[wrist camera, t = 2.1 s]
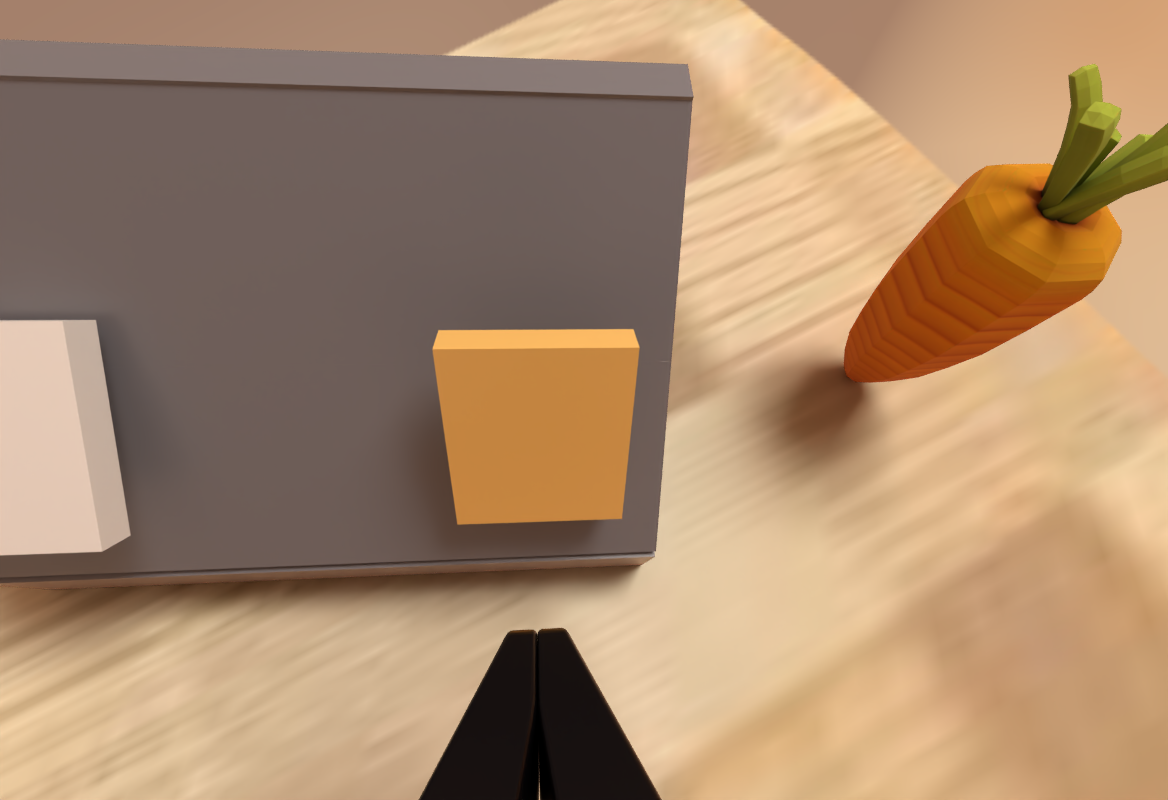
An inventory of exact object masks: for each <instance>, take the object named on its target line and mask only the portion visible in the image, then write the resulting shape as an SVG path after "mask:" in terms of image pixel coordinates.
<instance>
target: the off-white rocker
mask: <svg viewBox="0 0 1168 800" xmlns="http://www.w3.org/2000/svg"><path fill="white" fill-rule="evenodd" d="M129 536H131V534H130V528H129V522H128V516H127V510H126V503H125V497H124V491H123V485H122V479H121V472H120V466H119V460H118V454H117V448H116V442H115V435H114V429H113V423H112V417H111V411H110V404H109V398H108V392H107V386H106V380H105V373H104V367H103V361H102V355H101V349H100V343H99V336H98V330H97V324H96V320H0V555H25V554H52V553H79V552H103V551H104V550H106V549H108V548H110V547H111V546H113V545H115V544H117V543H118V542H120V541H122V540H124V539H125V538H127V537H129Z"/></svg>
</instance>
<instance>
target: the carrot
mask: <svg viewBox="0 0 1168 800" xmlns="http://www.w3.org/2000/svg"><path fill="white" fill-rule="evenodd" d="M1069 88H1070V98H1071V109H1070V114H1069V118H1068V123H1067V128H1066V131H1065V134H1064V138H1063V141H1062V145H1061V148H1060V151H1059V153H1058V155H1057V158H1056V160H1055V163H1054V165H1051V164H1007V165H994V166H986V167H984V168H983V169H981V170H979V171H978V172H976V173H974V174H973V175H972V176H971V177H970V178H969V179H967V180H966V181H965V182H964V183H963V184H962V185H961V187H960V188H959V189H958V190H957V191H956V192H955V193H954V194H953V195H952V197H951V198H950V199H949V200H948V201H947V202H946V203H945V204H944V205H943V206H942V208H941V209H940V210H939V211H938V212H937V213H936V214H935V215H934V216H933V218H932V219H931V220H930V221H929V222H928V223H927V224H926V225H925V227H924V228H923V229H922V230H921V231H920V232H919V234H918V235H917V236H916V237H915V238H914V240H913V241H912V242H911V243H910V244H909V245H908V247H907V248H906V249H905V250H904V251H903V253H902V254H901V255H900V256H899V257H898V258H897V260H896V261H895V263H894V264H893V265H892V267H891V268H890V270H889V271H888V272H887V274H886V275H885V277H884V278H883V279H882V281H881V282H880V284H879V285H878V286H877V288H876V289H875V291H874V292H873V294H872V296H871V297H870V299H869V300H868V302H867V303H866V305H865V306H864V308H863V309H862V311H861V313H860V314H859V316H858V318H857V320H856V321H855V323H854V325H853V327H852V328H851V330H850V332H849V336H848V339H847V343H846V347H845V354H844V369H845V372H846V375H847V377H849V378H850V379H852V380H853V381H855V382H870V383H871V382H886V381H896V380H903V379H909V378H916V377H920V376H924V375H927V374H930V373H933V372H936V371H939V370H942V369H945V368H948V367H951V366H953V365H956V364H958V363H961V362H964V361H966V360H969V359H971V358H974V357H977V356H979V355H982V354H984V353H986V352H988V351H989V350H991V349H993V348H995V347H997V346H999V345H1001V344H1003V343H1005V342H1006V341H1008V340H1010V339H1012V338H1014V337H1016V336H1018V335H1020V334H1022V333H1023V332H1025V331H1027V330H1029V329H1031V328H1032V327H1034V326H1036V325H1038V324H1039V323H1041V322H1043V321H1045V320H1046V319H1048V318H1050V317H1052V316H1053V315H1055V314H1057V313H1059V312H1060V311H1062V310H1064V309H1066V308H1067V307H1069V306H1071V305H1073V304H1074V303H1076V302H1078V301H1080V300H1081V299H1083V298H1084V297H1086V296H1087V295H1088V294H1089V293H1091V292H1092V291H1093V290H1094V289H1095V288H1096V287H1097V286H1098V285H1099V284H1100V282H1101V281H1102V280H1103V279H1104V277H1105V275H1106V273H1107V271H1108V269H1109V266H1110V264H1111V262H1112V260H1113V258H1114V256H1115V254H1116V252H1117V250H1118V248H1119V246H1120V244H1121V234H1122V231H1121V229H1120V227H1119V226H1118V224H1117V222H1116V220H1115V219H1114V217H1113V216H1112V214H1111V212H1110V210H1109V209H1108V207H1107V205H1108V204H1110V203H1111V202H1113V201H1115V200H1117V199H1119V198H1120V197H1122V196H1124V195H1126V194H1129V193H1132V192H1135V191H1138V190H1141V189H1144V188H1147V187H1150V186H1152V185H1156V184H1159V183H1162V182H1165V181H1167V180H1168V124H1167V125H1165V126H1164V127H1163V128H1162V129H1160V130H1159V131H1158V132H1157V133H1156V134H1155V135H1143V134H1139V135H1138V136H1136V137H1135V138H1134V139H1132V140H1131V141H1130V142H1128V143H1127V144H1126V145H1124V146H1123V147H1122V148H1120V149H1119V150H1118V151H1117V152H1115V153H1114V154H1112V155H1111V156H1110V157H1108V158H1107V159H1106V160H1105V161H1103V160H1104V159H1105V158H1106V156H1107V155H1108V154H1109V153H1110V152H1111V151H1112V150H1113V149H1114V147H1115V146H1116V145H1117V144H1118V143H1119V141H1120V138H1121V137H1122V136H1121V134H1120V133H1119V132H1118V131H1117V129H1115V128H1116V126H1117V123H1118V122H1119V120H1120V115H1121V108H1118V107H1117V106H1114V105H1112V104H1110V103H1105V102H1103V99H1102V83H1101V78H1100V74H1099V70H1098V66H1097V65H1095V64H1092V65H1088V66H1084V67H1081V68H1079V69H1078V70H1076V71H1075V72H1073V73H1072V74H1070V75H1069ZM1102 161H1103V162H1102ZM1101 162H1102V163H1101Z"/></svg>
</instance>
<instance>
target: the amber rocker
mask: <svg viewBox="0 0 1168 800" xmlns="http://www.w3.org/2000/svg"><path fill="white" fill-rule="evenodd" d="M639 349H640V347H639V344H638V341H637V338H636V335H635V332H634V329H566V330H438V333H437V336H436V339H435V343H434V346H433V349H432V350H433V357H434V364H435V371H436V378H437V385H438V392H439V399H440V406H441V413H442V420H443V427H444V434H445V441H446V448H447V455H448V462H449V469H450V476H451V483H452V490H453V497H454V504H455V511H456V518H457V525H460V524H489V523H517V522H546V521H575V520H604V519H622V513H623V503H624V494H625V484H626V474H627V465H628V455H629V445H630V436H631V426H632V416H633V407H634V397H635V387H636V378H637V368H638V358H639Z"/></svg>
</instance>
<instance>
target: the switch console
mask: <svg viewBox="0 0 1168 800" xmlns="http://www.w3.org/2000/svg"><path fill="white" fill-rule="evenodd" d="M692 100H693V91H692V86H691V80H690V74H689V69H688V64H664V63H637V62H609V61H581V60H553V59H526V58H498V57H470V56H443V55H415V54H413V55H411V54H386V53H359V52H358V53H357V52H332V51H304V50H274V49H249V48H219V47H191V46H163V45H138V44H137V45H136V44H109V43H82V42H81V43H80V42H54V41H53V42H52V41H25V40H0V320H96V324H97V330H98V336H99V343H100V349H101V355H102V361H103V367H104V373H105V380H106V386H107V392H108V398H109V404H110V411H111V417H112V423H113V429H114V435H115V442H116V448H117V454H118V460H119V466H120V472H121V479H122V485H123V491H124V497H125V503H126V510H127V516H128V522H129V528H130V534H131V536H129V537H127V538H125V539H124V540H122V541H120V542H118V543H117V544H115V545H113V546H111V547H110V548H108V549H106V550H104V551H103V552H79V553H52V554H25V555H0V586H9V587H23V588H36V589H50V590H56V589H80V588H104V587H127V586H151V585H175V584H199V583H223V582H247V581H270V580H294V579H318V578H342V577H366V576H389V575H413V574H437V573H461V572H485V571H508V570H532V569H556V568H580V567H604V566H627V565H642V564H644V563H645V562H647V561H649V560H650V559H652V558H653V557H655V554H654V551H656V542H657V529H658V517H659V505H660V492H661V480H662V468H663V456H664V443H665V431H666V419H667V407H668V394H669V382H670V370H671V357H672V345H673V333H674V321H675V308H676V296H677V284H678V272H679V259H680V247H681V235H682V222H683V210H684V198H685V186H686V173H687V161H688V149H689V137H690V124H691V112H692ZM566 329H634V332H635V335H636V338H637V341H638V344H639V347H640V349H639V358H638V368H637V378H636V387H635V397H634V407H633V416H632V426H631V436H630V445H629V455H628V465H627V474H626V484H625V494H624V503H623V513H622V519H604V520H575V521H546V522H517V523H489V524H460V525H457V518H456V511H455V504H454V497H453V490H452V483H451V476H450V469H449V462H448V455H447V448H446V441H445V434H444V427H443V420H442V413H441V406H440V399H439V392H438V385H437V378H436V371H435V364H434V357H433V350H432V349H433V346H434V343H435V339H436V336H437V333H438V330H566Z"/></svg>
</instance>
